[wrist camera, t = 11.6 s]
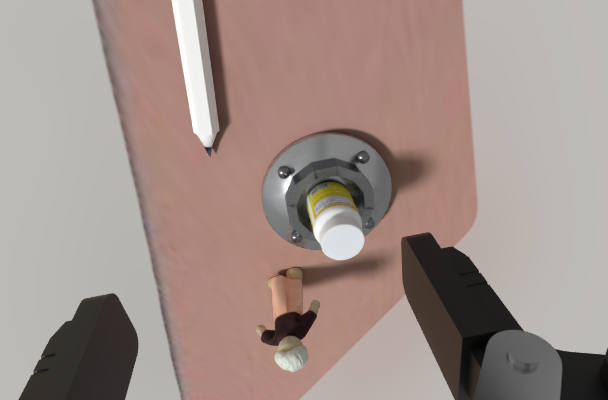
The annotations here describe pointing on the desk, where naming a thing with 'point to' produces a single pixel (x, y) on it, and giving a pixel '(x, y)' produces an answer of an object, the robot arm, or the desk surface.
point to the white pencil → (197, 69)
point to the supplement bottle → (335, 219)
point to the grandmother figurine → (289, 320)
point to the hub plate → (314, 167)
